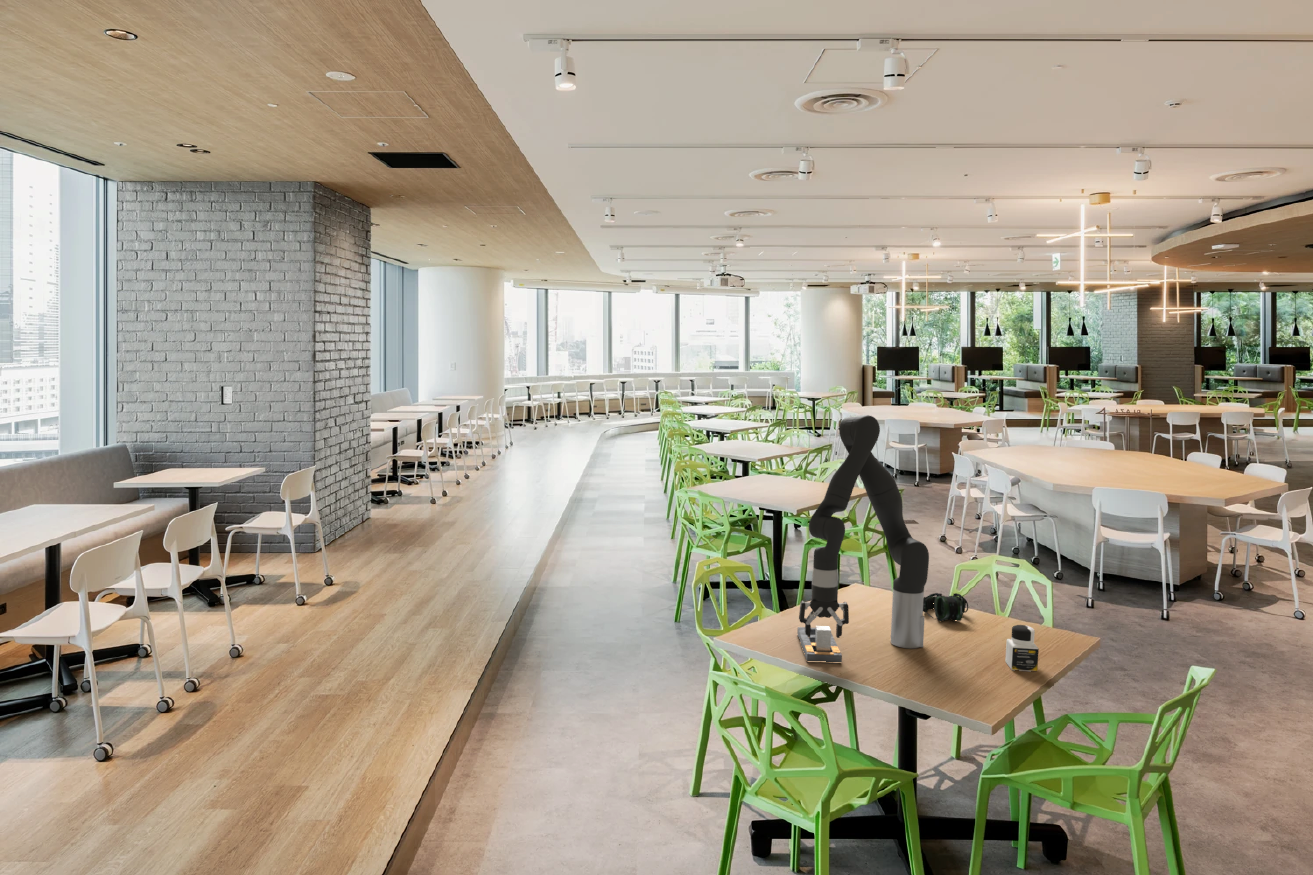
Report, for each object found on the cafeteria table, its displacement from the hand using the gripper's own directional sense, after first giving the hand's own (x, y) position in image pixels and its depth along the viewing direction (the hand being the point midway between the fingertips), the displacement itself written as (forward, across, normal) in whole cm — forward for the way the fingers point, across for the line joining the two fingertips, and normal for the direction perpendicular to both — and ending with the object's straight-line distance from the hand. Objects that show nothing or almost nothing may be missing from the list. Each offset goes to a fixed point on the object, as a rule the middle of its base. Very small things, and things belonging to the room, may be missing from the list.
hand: (823, 636), depth 252 cm
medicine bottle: (+7, -57, +2) cm, 57 cm away
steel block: (+6, 0, 0) cm, 6 cm away
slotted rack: (+6, 0, -8) cm, 10 cm away
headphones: (+7, -48, -46) cm, 67 cm away
